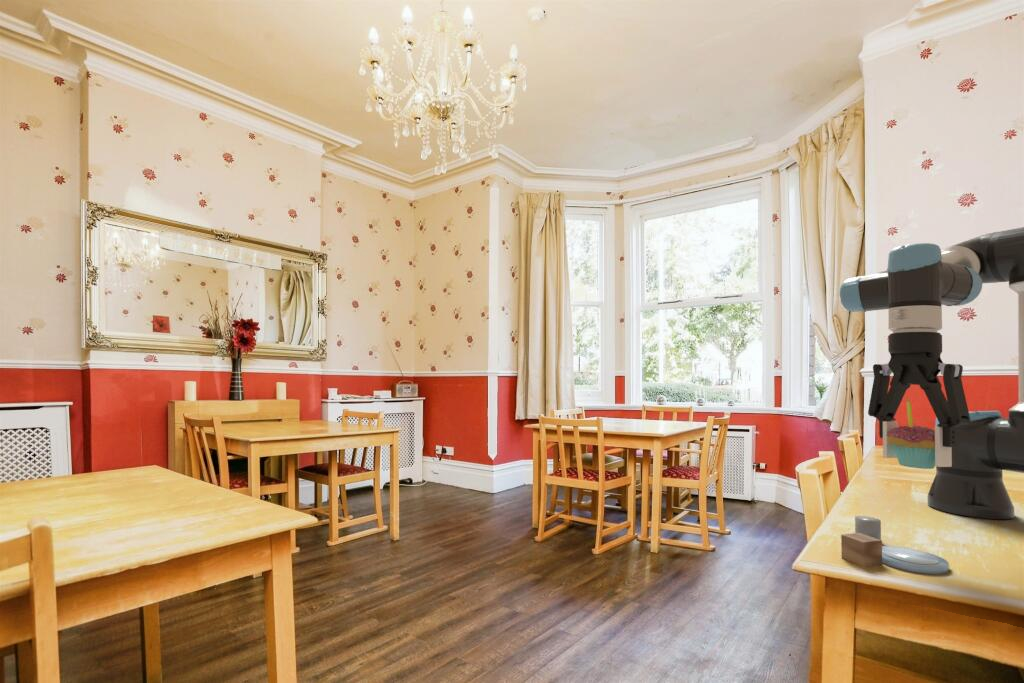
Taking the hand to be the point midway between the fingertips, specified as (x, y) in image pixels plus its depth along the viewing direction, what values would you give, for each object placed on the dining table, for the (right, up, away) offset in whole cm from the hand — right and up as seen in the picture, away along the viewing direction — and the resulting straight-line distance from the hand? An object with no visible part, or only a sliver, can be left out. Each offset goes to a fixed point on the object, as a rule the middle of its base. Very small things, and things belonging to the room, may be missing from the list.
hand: (915, 461), depth 90 cm
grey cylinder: (-3, -17, +7) cm, 18 cm away
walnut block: (-12, -16, -4) cm, 20 cm away
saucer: (-4, -16, -4) cm, 17 cm away
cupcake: (0, -1, 0) cm, 1 cm away
